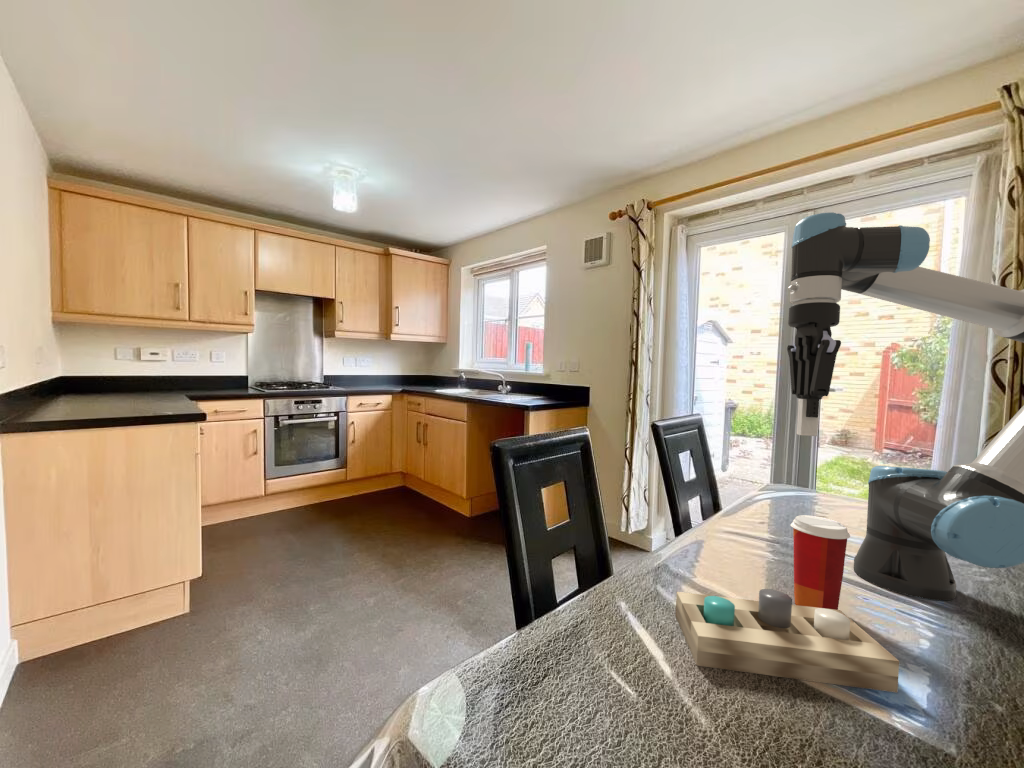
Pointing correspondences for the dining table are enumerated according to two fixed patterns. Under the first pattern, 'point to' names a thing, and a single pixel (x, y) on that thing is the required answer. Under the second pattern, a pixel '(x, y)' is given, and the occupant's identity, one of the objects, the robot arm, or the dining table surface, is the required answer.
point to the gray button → (775, 608)
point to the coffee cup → (818, 561)
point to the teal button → (718, 611)
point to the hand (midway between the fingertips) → (806, 435)
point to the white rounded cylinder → (831, 624)
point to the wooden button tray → (785, 647)
